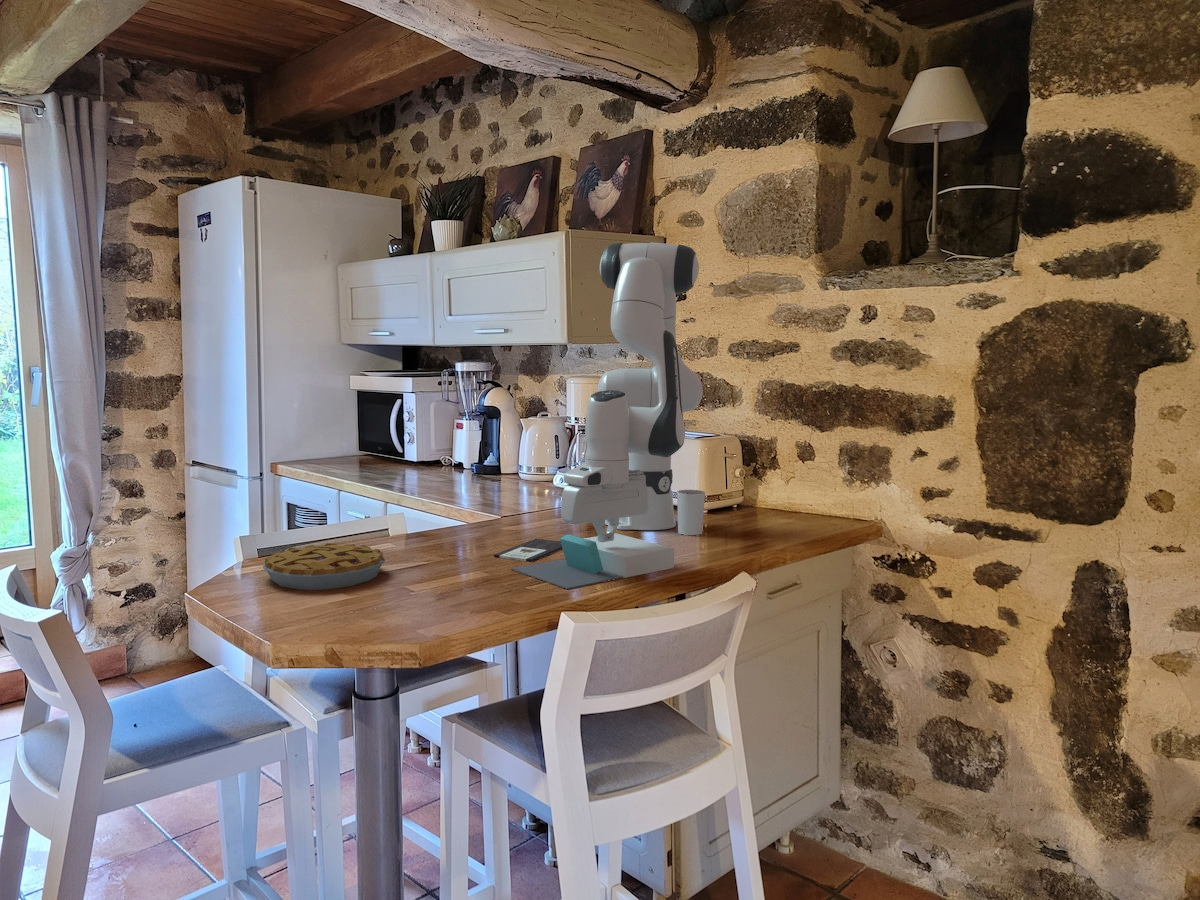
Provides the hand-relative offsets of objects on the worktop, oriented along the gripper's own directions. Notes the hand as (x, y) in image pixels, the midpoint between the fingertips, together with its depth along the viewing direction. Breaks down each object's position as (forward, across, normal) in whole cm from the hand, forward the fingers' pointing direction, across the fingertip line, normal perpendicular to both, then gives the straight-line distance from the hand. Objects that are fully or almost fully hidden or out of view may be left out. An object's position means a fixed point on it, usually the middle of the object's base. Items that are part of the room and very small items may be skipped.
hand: (605, 541), depth 176 cm
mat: (+5, +10, 0) cm, 11 cm away
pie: (+6, +47, -26) cm, 54 cm away
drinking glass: (+5, -38, -13) cm, 40 cm away
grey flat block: (+5, -4, 0) cm, 7 cm away
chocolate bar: (+6, +3, -20) cm, 21 cm away
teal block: (+2, +5, 0) cm, 5 cm away
